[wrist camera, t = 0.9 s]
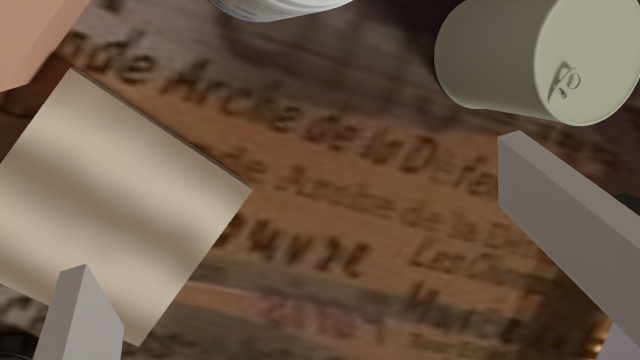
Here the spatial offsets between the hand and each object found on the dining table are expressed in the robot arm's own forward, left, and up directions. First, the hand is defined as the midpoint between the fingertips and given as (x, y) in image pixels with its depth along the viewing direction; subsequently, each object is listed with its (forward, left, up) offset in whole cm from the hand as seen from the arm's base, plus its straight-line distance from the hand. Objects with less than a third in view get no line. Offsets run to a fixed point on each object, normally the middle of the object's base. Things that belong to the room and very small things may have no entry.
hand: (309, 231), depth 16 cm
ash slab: (-9, +3, -23) cm, 25 cm away
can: (+18, -14, -23) cm, 33 cm away
